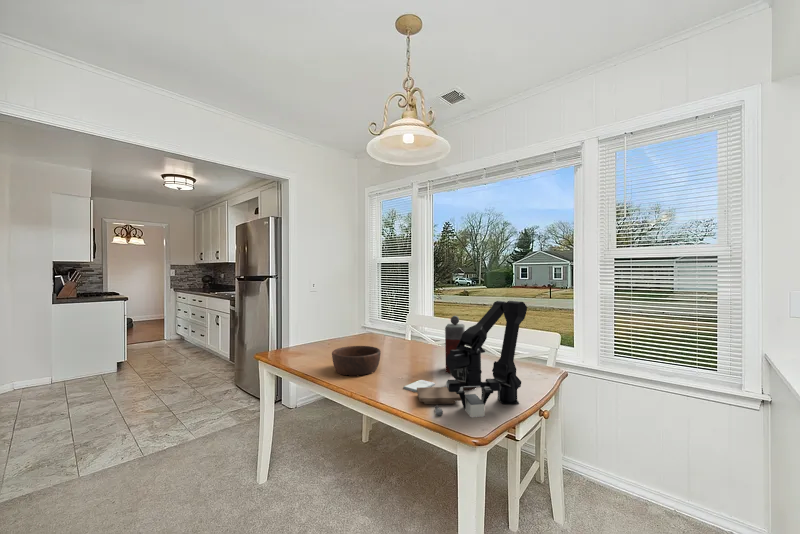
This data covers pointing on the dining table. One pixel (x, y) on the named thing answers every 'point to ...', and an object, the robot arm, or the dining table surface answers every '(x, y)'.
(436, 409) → the bolt
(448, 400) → the stand
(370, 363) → the wooden bowl
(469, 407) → the block
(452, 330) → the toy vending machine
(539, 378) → the dining table surface
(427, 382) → the external hard drive
